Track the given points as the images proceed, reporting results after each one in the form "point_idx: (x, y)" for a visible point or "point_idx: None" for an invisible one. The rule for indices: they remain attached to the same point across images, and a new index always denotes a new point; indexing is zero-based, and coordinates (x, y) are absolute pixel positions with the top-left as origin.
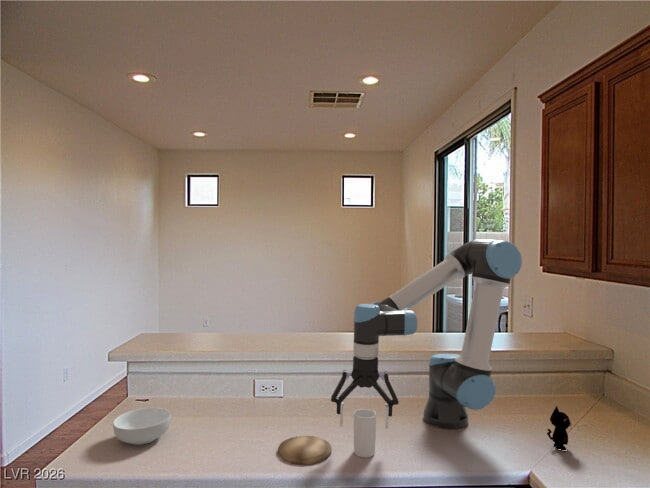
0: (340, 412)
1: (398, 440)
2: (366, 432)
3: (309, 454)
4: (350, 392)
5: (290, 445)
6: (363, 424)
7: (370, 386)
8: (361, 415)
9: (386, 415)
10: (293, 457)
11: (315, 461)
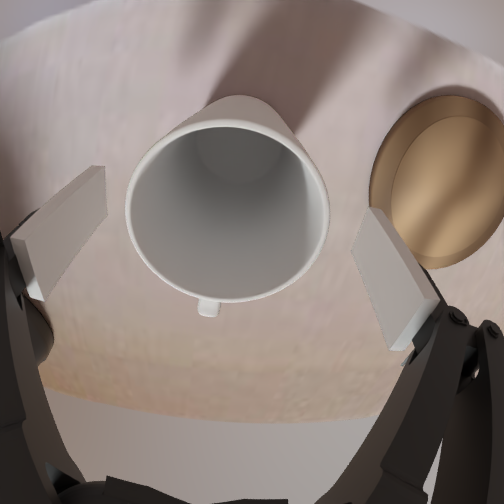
0: (415, 259)
1: (98, 227)
2: (234, 103)
3: (459, 140)
4: (408, 412)
5: (483, 213)
6: (257, 115)
7: (98, 493)
8: (242, 265)
9: (59, 202)
10: (498, 138)
11: (447, 96)
